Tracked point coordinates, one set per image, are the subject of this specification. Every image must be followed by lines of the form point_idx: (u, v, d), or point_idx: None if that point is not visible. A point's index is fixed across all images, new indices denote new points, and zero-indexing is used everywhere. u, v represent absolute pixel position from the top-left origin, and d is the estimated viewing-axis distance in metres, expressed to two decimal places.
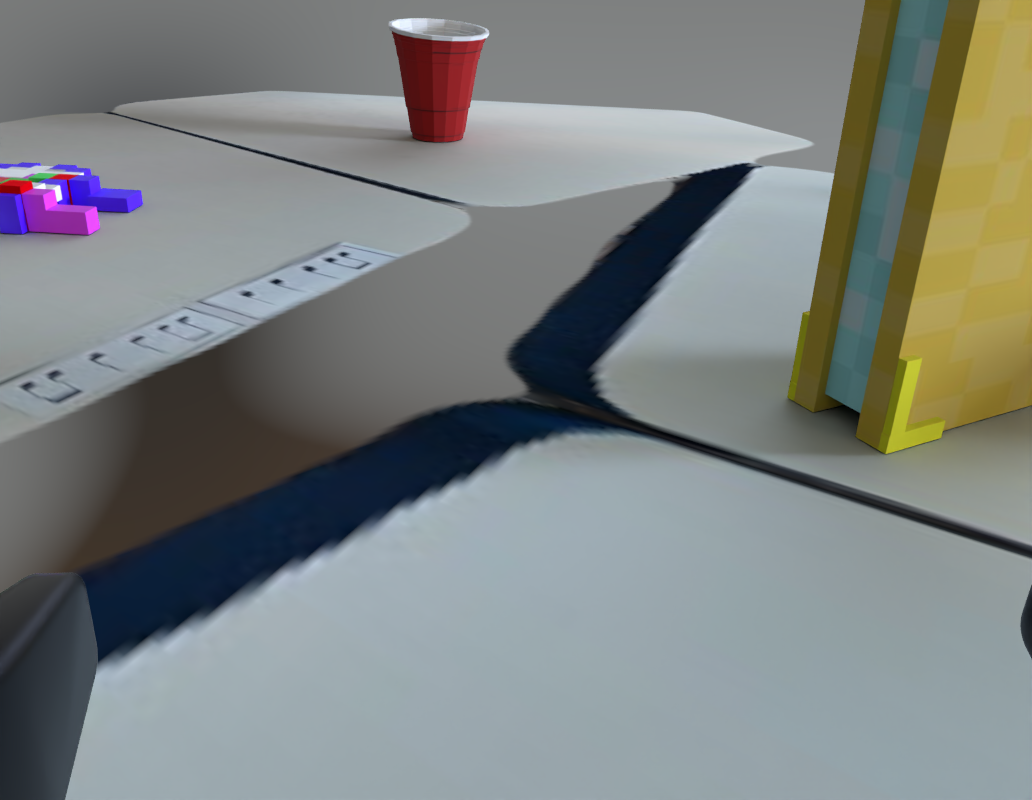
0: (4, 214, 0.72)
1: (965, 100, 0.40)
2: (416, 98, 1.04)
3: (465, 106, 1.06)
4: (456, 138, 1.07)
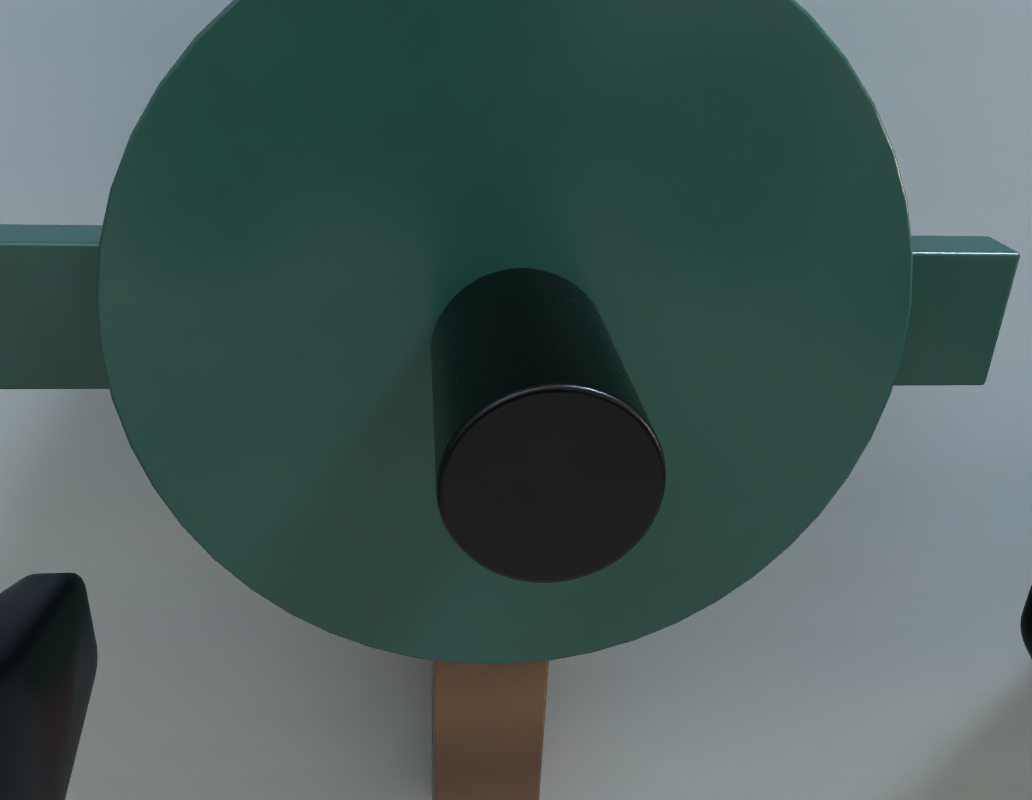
0: None
1: None
2: None
3: None
4: None
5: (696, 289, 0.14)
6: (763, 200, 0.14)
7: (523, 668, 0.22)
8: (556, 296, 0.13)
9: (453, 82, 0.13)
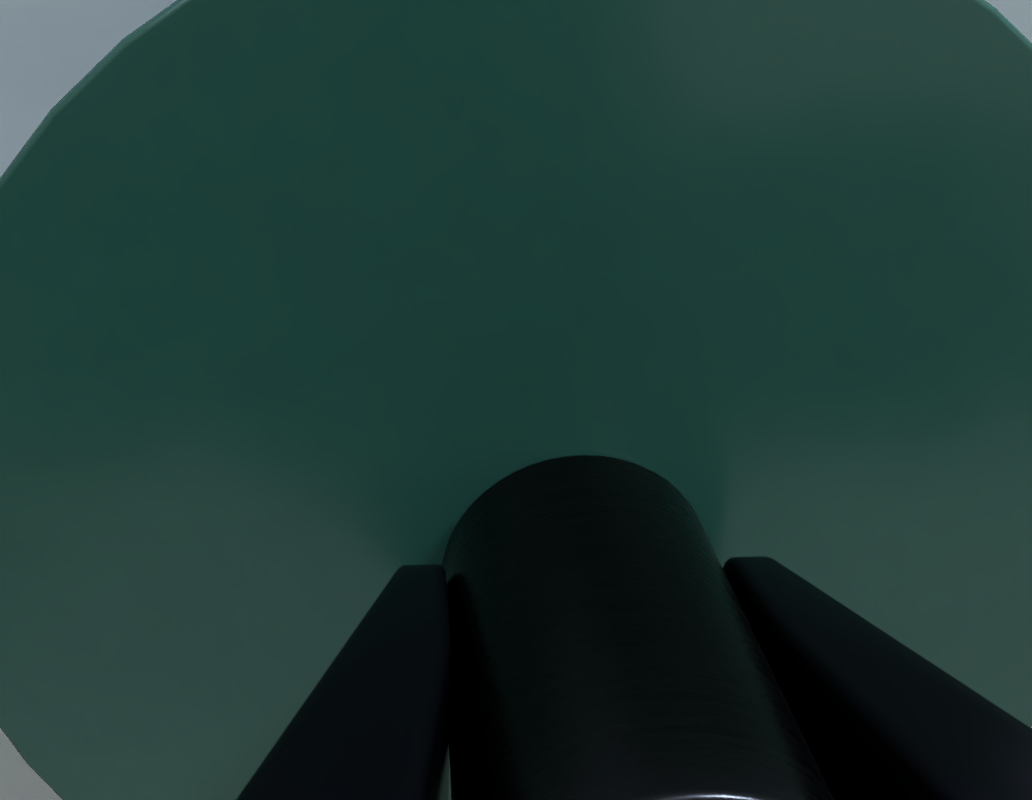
0: None
1: None
2: None
3: None
4: None
5: (844, 478, 0.09)
6: (957, 351, 0.09)
7: None
8: (644, 520, 0.08)
9: (479, 180, 0.08)
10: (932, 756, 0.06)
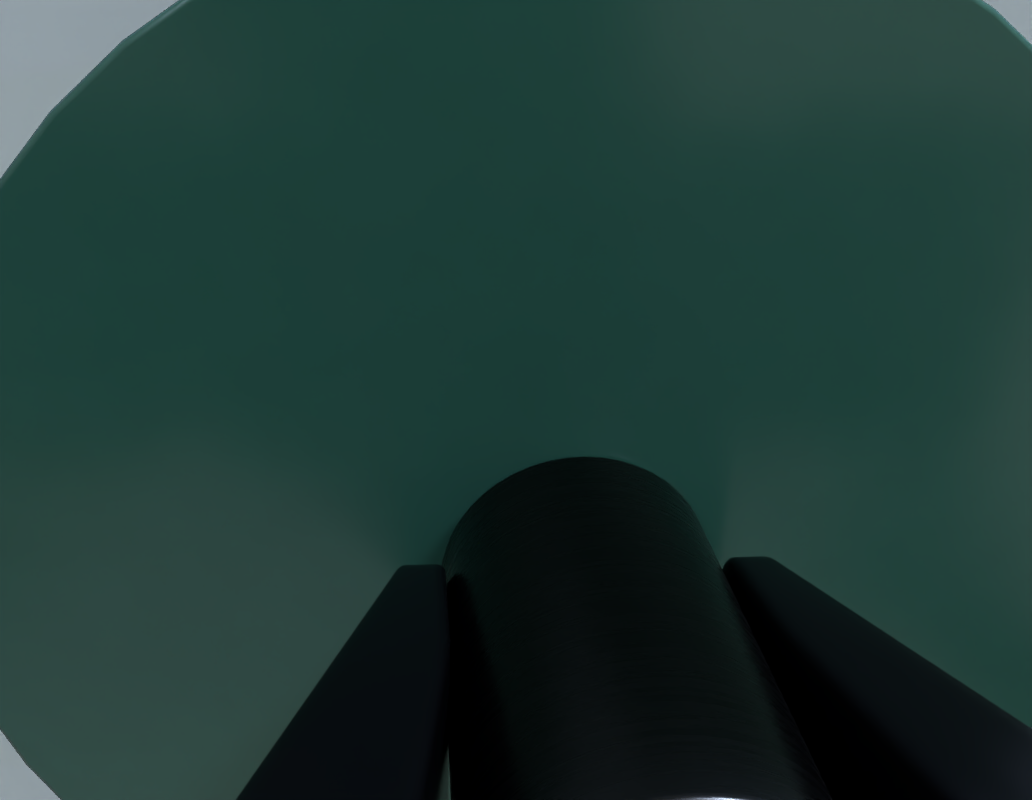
0: None
1: None
2: None
3: None
4: None
5: (844, 480, 0.09)
6: (957, 352, 0.09)
7: None
8: (644, 522, 0.08)
9: (479, 182, 0.08)
10: (932, 756, 0.06)
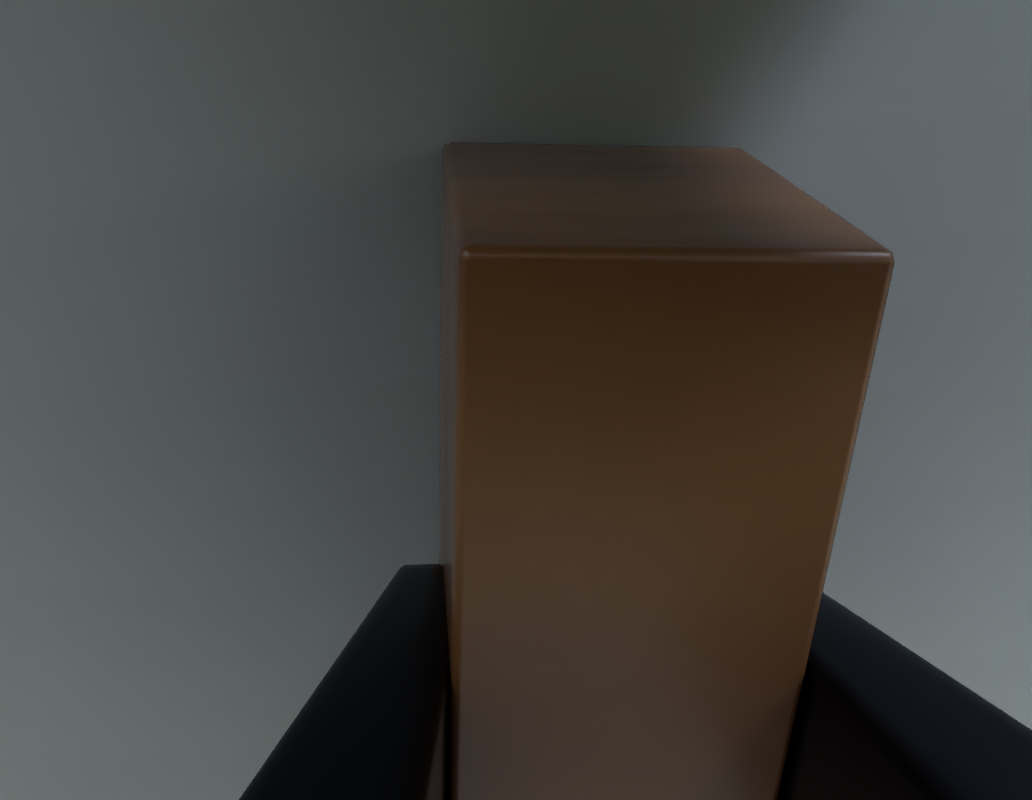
0: None
1: None
2: None
3: None
4: None
5: None
6: None
7: (785, 367, 0.06)
8: None
9: None
10: (929, 756, 0.06)
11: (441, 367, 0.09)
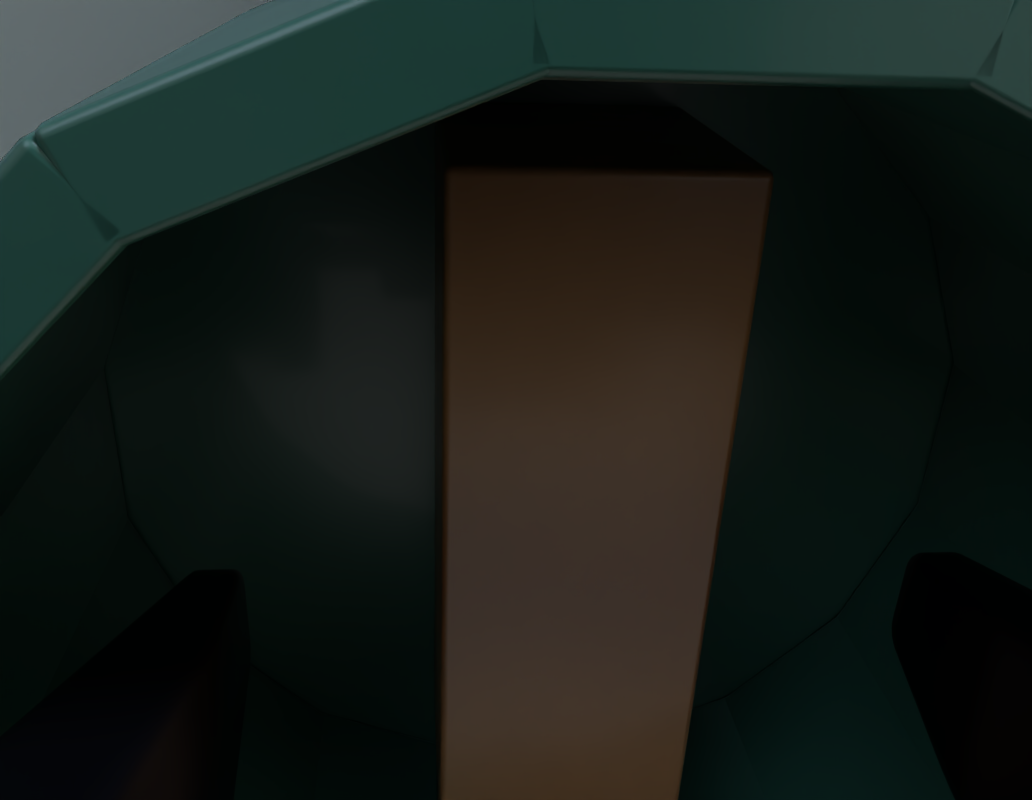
0: None
1: None
2: None
3: None
4: None
5: None
6: None
7: (694, 263, 0.08)
8: None
9: None
10: None
11: (435, 289, 0.11)
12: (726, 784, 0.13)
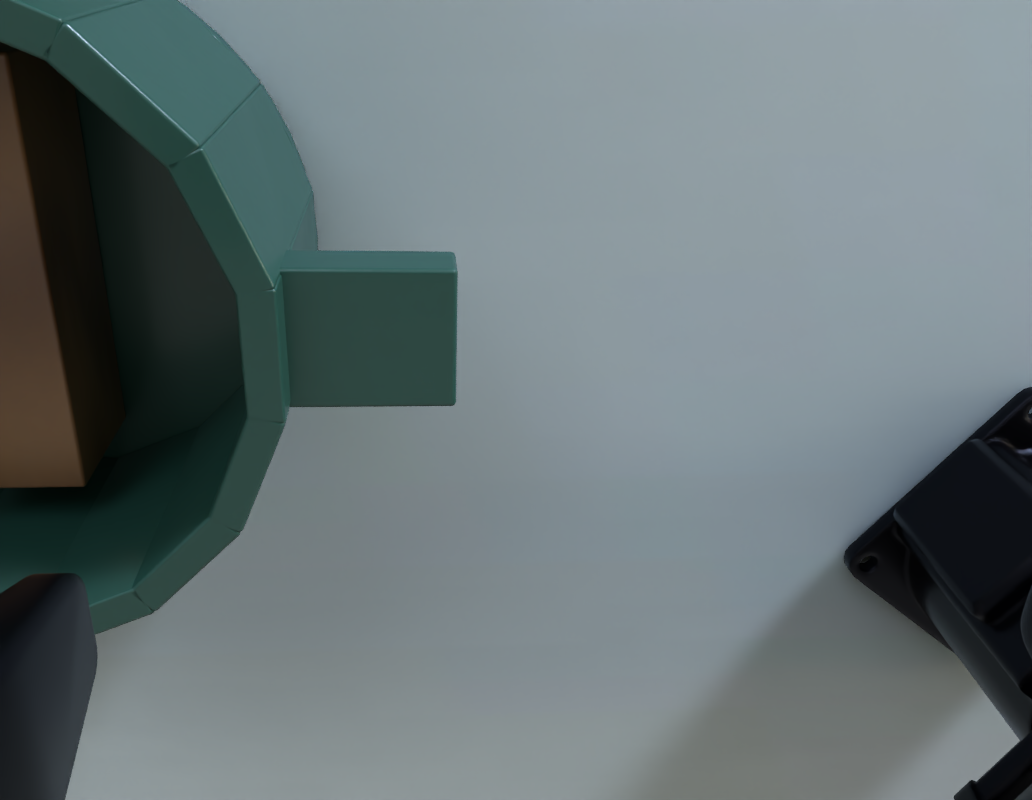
0: None
1: None
2: None
3: None
4: None
5: None
6: None
7: None
8: None
9: None
10: None
11: None
12: (169, 463, 0.20)
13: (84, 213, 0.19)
